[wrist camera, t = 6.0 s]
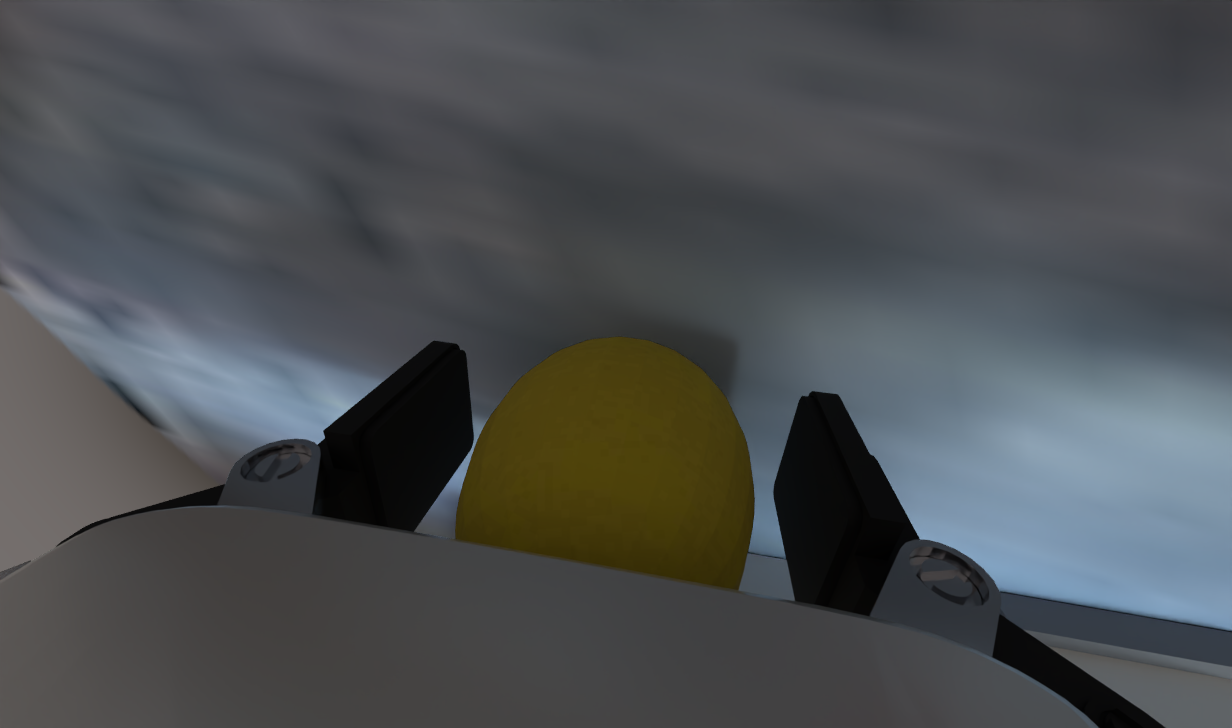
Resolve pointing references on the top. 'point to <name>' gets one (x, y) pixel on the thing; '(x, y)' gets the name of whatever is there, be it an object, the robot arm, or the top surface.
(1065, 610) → the block
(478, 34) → the top surface
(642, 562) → the lemon
